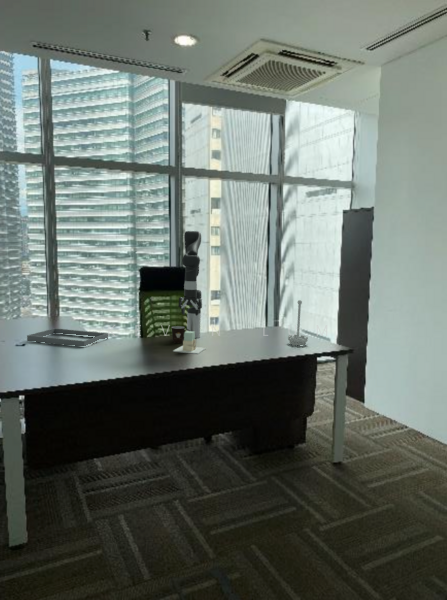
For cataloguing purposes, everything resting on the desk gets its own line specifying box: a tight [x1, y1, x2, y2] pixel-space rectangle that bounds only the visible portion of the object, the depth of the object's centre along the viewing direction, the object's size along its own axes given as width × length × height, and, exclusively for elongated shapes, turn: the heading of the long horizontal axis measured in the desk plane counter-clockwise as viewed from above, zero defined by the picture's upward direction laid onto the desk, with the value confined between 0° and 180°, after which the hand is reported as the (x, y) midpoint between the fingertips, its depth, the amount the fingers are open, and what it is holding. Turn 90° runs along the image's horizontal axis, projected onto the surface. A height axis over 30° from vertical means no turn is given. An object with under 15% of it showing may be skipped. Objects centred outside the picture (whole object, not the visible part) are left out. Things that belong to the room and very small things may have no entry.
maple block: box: [182, 339, 197, 351], centre depth 273 cm, size 6×6×6 cm
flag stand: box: [287, 299, 309, 346], centre depth 299 cm, size 13×13×30 cm
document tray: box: [26, 327, 109, 346], centre depth 291 cm, size 27×42×4 cm, turn 73°
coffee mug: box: [171, 325, 190, 344], centre depth 295 cm, size 12×9×10 cm
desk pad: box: [172, 345, 207, 355], centre depth 274 cm, size 14×16×1 cm
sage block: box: [183, 330, 196, 341], centre depth 272 cm, size 5×5×5 cm
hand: (190, 315), depth 271 cm, fingers open, 8 cm apart
